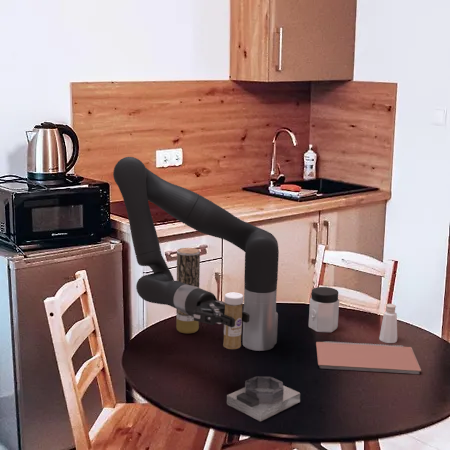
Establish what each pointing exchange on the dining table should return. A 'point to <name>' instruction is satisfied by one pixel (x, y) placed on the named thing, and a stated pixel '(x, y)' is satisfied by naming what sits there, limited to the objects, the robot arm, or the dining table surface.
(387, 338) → the salt shaker
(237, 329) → the sprinkles bottle
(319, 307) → the jar
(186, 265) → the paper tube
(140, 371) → the dining table surface
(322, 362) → the notebook
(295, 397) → the octagonal ring base plate
